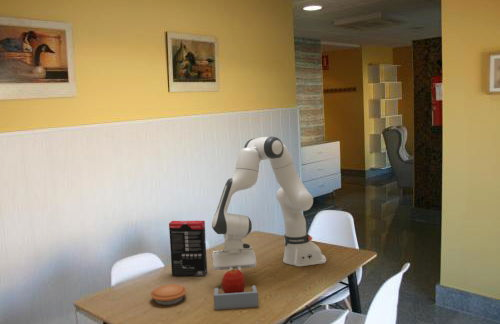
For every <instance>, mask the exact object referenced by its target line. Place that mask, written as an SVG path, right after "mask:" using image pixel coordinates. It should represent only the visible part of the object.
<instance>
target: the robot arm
mask: <svg viewBox="0 0 500 324" xmlns="http://www.w3.org/2000/svg"><path fill="white" fill-rule="evenodd" d="M262 160H263V161H264V160H269V162H270V166H271V168H272V171H273V174H274V177H275V179H276V182H277V183H278V184H279V186H280V187H279V189H278V190H277V192H276V196H275V197H276V199H277V202H278V203H279V205H280V208H281V212H282V213H281V214H282V216H283V221H284V223H283V224H284V234H283V241H284V242H283V243H284V253H283V258H282V261H283V263H285V264H286V265H290V266H295V267H305V266H313V265H320V264H326V263H327V257H326V256H325V255H324V254H323V253H322V250H321V248H320V246H318V244H315V243H314V242H312V240H313V237H312V235H310V234H309V233H307V223H306V222H307V221H306V218H305V216H304V214H303V212H306V211H308V210H310V209H311V208H312V206H313V204H314V197H313V195H312V194H311V193H310V192H309V191H308V189H307V188H306V186H305V184H303V181H302V179H301V178H300V176H299V174H298V172H297V170H296V169H297V168H296V166H295V163H294V161H293V158H292V156H291V153H290V151H289V149H288V147H287V146H286V145H285V143H283V141H281V139H280V138H278V137H277V136H261V137H256V138H251V139H249V140H247V141H246V143H245V144H244V147H242V149H240V151H239V153H238V157H237V161H236V164H235V168H234V169H235V171H234V173H233V175H232V177H231V178H229V179H227V180H226V183H225V185H224V187H223V190H222V193H221V196H220V199H219V202H218V206H217V209H216V211H215V214H214V216H213V219H212V223H211V228H212V230H213V231H214V232H215V233H216V234H217V235H223V238H224V242H223V248H224V249H221V250H214V251H213V252H212V253H211V258H212V269H213V270H214V271H224V270H225V271H227V270H229V271H230V270H240V271H241V272H242V270H241V269H252V268H256V267H257V265H258V263H257V257H256V252H255V250H253V245H252V244H249V243H245V242H243V238H246V237H247V236H248V235H249V234H251V232H252V229H253V228H252V226H253V225H252V220H251V218H250V217H249V215H248V216H247V215H243V214H235V213H228V208H229V206H230V203H231V199H232V197H233V195H234V194H235V193H237V192H240V191H245V190H248V189H251V188H252V187H254V186H255V185H256V183H257V181H258V178H259V170H260V163H261V161H262Z"/></svg>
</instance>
